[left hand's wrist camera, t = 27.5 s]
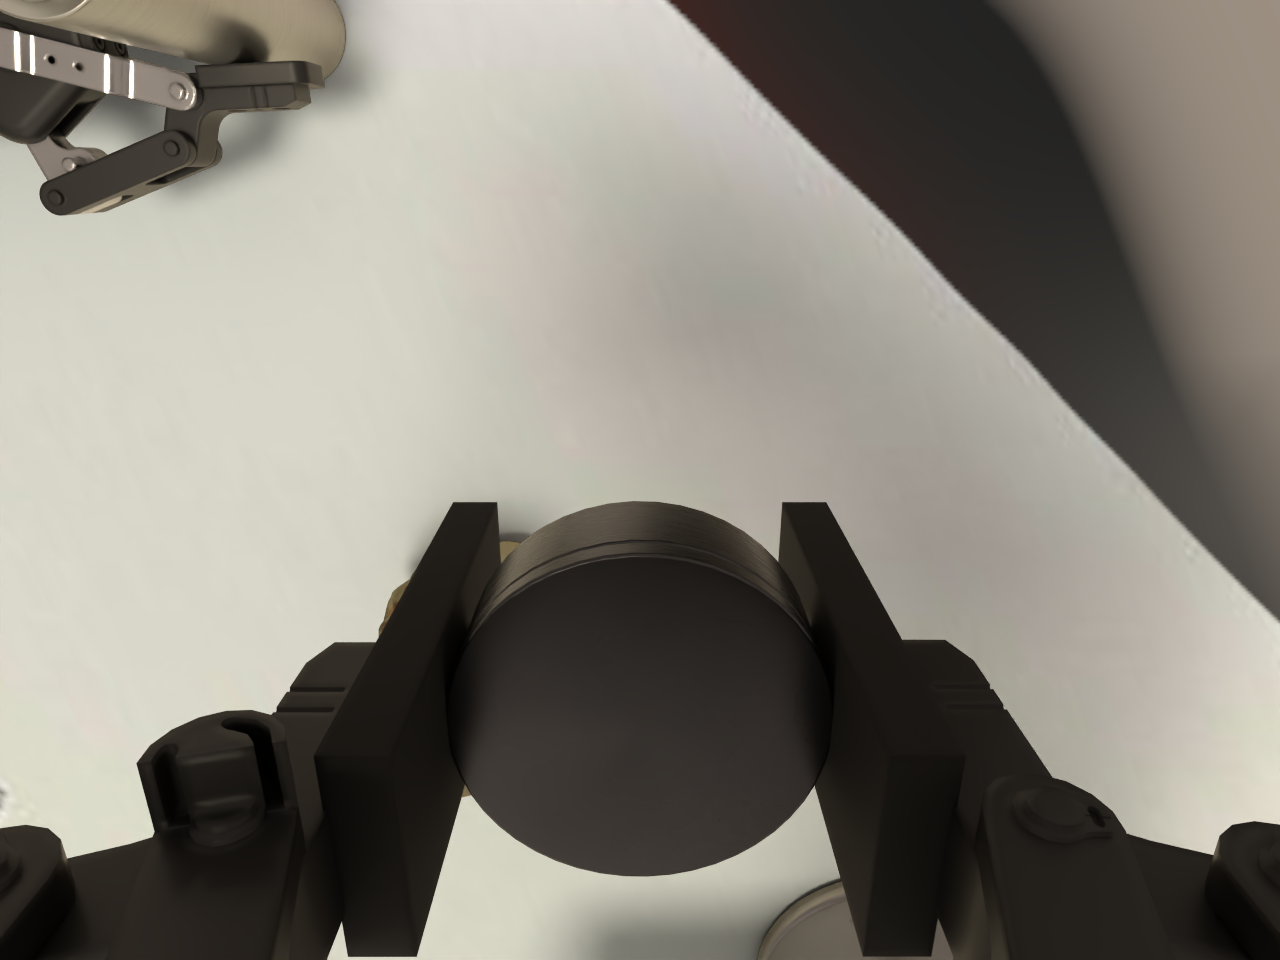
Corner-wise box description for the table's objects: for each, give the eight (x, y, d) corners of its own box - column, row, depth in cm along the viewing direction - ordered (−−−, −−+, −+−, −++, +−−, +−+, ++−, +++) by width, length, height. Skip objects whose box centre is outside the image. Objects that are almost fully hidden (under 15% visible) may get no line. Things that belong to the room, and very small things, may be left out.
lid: (488, 796, 13) (468, 882, 11) (450, 505, 11) (420, 561, 10) (803, 786, 13) (826, 871, 11) (815, 493, 11) (844, 547, 10)
